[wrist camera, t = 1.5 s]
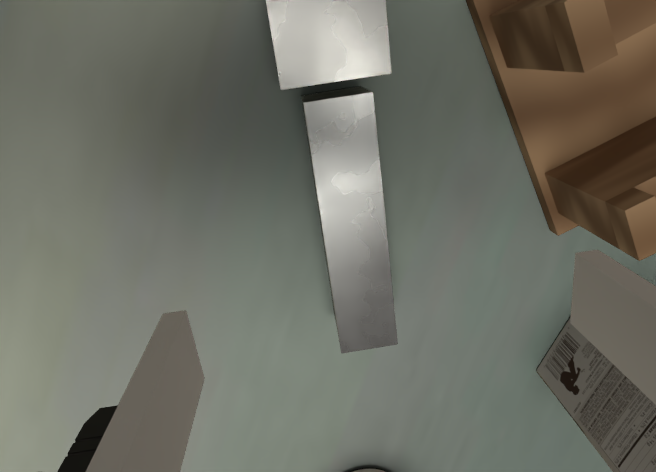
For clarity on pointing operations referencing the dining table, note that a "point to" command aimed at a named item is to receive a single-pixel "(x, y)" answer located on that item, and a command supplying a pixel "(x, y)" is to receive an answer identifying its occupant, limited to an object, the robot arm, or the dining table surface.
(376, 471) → the supplement bottle
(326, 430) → the dining table surface
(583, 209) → the cradle rack
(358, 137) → the grey t-shaped block
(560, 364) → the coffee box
